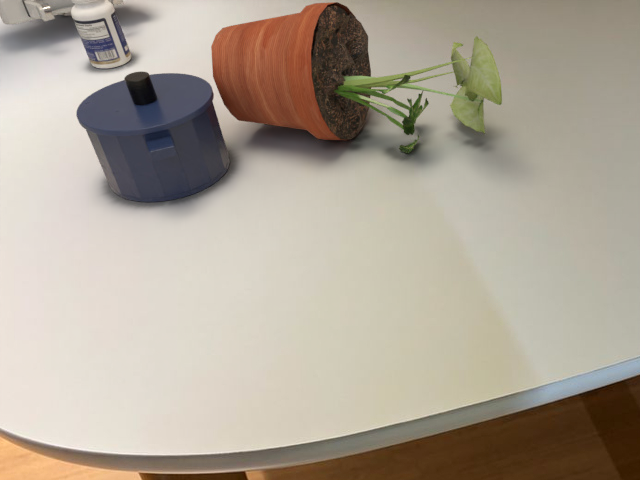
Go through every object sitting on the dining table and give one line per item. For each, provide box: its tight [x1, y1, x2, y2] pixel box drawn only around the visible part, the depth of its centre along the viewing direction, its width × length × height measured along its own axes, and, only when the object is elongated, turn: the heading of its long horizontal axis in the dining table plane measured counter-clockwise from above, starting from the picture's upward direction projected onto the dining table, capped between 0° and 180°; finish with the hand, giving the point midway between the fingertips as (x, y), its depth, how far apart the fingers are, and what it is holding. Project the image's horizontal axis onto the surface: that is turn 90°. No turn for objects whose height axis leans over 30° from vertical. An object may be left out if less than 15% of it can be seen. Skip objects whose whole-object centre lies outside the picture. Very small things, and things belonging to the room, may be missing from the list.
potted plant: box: [210, 1, 503, 154], centre depth 86 cm, size 16×15×35 cm
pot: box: [85, 100, 230, 203], centre depth 85 cm, size 13×18×8 cm
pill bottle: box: [71, 0, 132, 69], centre depth 107 cm, size 5×5×10 cm
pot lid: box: [75, 71, 214, 136], centre depth 81 cm, size 13×13×4 cm
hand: (82, 6), depth 111 cm, fingers open, 8 cm apart
